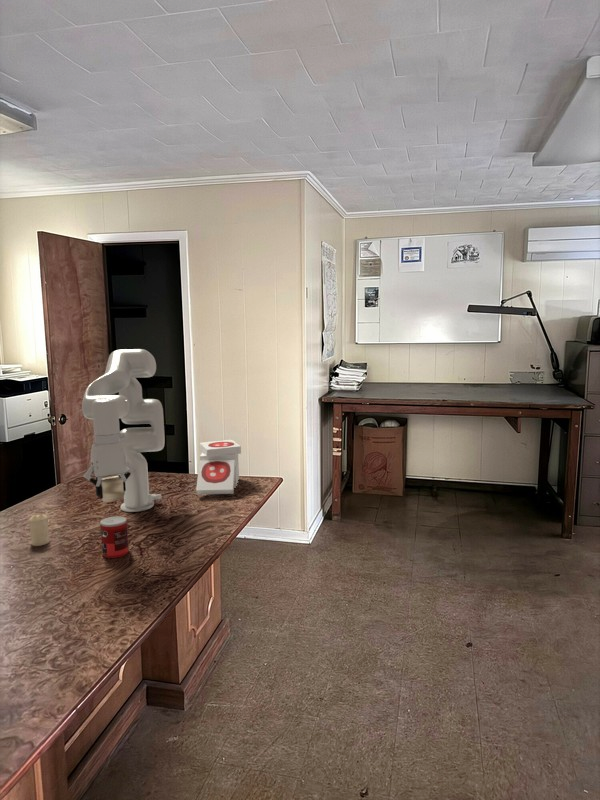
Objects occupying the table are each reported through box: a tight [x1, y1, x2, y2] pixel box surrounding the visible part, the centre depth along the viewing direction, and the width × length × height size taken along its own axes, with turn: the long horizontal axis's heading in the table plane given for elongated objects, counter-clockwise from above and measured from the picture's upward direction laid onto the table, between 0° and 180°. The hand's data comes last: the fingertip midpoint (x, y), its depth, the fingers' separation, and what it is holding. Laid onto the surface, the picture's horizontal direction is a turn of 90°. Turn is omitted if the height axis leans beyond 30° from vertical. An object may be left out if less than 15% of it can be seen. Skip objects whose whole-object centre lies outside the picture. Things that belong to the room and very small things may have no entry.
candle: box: [28, 512, 50, 547], centre depth 192 cm, size 6×6×10 cm
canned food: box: [99, 515, 129, 559], centre depth 182 cm, size 8×8×11 cm
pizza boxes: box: [195, 439, 242, 495], centre depth 248 cm, size 19×30×18 cm, turn 1°
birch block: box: [100, 475, 124, 503], centre depth 179 cm, size 6×6×6 cm
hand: (111, 495), depth 179 cm, fingers closed on birch block, 6 cm apart
